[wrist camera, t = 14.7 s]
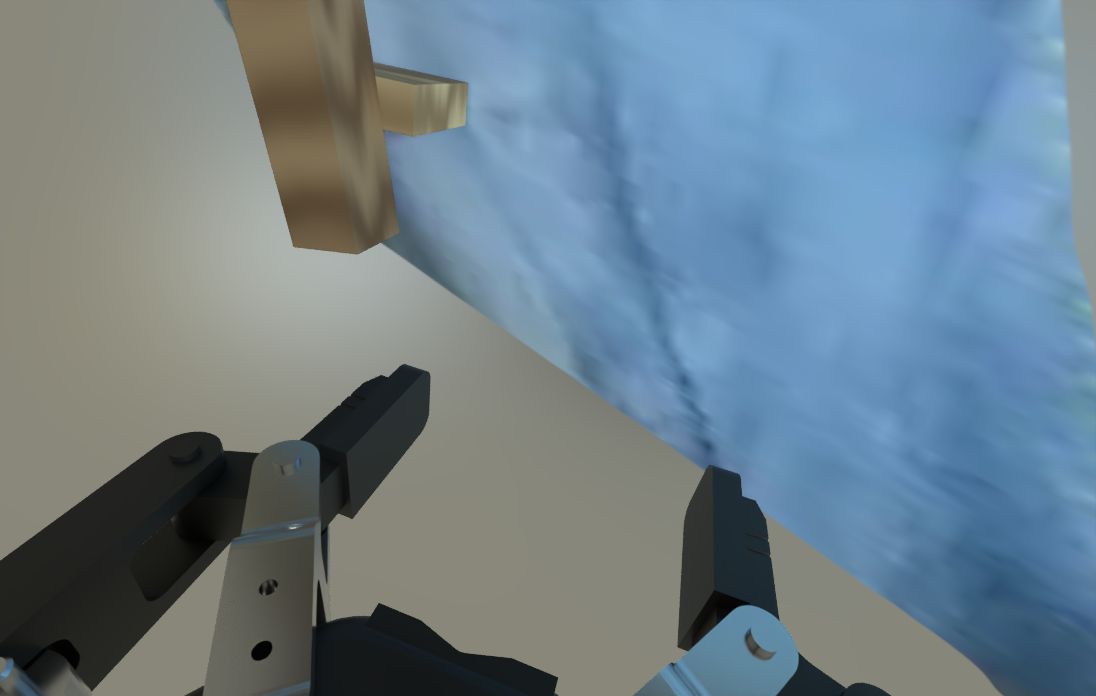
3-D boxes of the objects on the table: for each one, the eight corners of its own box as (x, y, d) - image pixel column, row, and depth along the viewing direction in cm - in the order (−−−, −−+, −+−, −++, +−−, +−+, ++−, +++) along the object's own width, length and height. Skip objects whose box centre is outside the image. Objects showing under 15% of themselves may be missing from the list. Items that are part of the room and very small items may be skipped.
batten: (273, -87, 27) (194, -117, 23) (349, -94, 26) (279, -126, 22) (341, 227, 36) (293, 246, 32) (399, 232, 35) (357, 254, 31)
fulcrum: (352, 57, 37) (275, 53, 31) (468, 82, 36) (413, 85, 29) (354, 99, 39) (282, 104, 32) (465, 125, 38) (413, 136, 31)
